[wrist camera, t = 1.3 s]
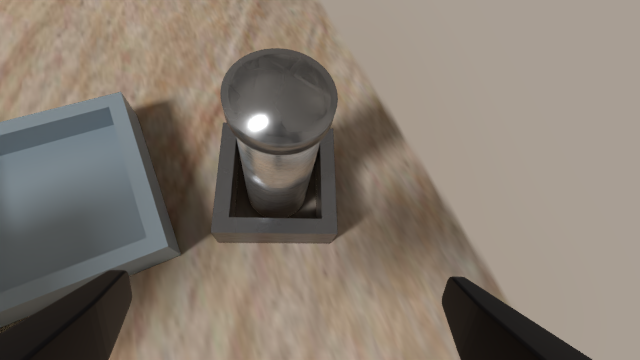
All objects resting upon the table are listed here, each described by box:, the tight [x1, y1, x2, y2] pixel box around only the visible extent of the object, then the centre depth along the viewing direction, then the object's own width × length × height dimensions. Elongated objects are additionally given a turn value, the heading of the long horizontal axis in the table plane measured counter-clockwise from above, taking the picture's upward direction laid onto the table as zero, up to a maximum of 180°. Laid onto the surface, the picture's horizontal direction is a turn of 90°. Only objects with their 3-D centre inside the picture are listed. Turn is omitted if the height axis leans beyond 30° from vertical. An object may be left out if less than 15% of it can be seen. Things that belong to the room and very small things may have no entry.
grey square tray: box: [211, 123, 337, 243], centre depth 23 cm, size 8×8×3 cm
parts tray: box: [0, 92, 181, 328], centre depth 21 cm, size 12×12×3 cm
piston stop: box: [221, 48, 338, 218], centre depth 19 cm, size 5×5×12 cm
